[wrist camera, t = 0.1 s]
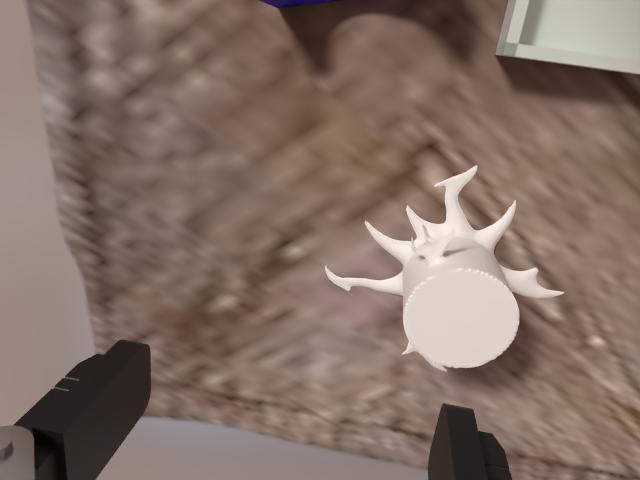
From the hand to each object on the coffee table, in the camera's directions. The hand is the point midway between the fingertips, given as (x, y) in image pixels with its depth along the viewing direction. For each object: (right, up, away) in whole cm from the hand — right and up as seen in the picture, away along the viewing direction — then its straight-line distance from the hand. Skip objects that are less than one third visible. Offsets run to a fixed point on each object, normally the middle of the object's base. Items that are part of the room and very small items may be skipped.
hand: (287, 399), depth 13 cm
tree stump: (+12, +1, +30) cm, 32 cm away
